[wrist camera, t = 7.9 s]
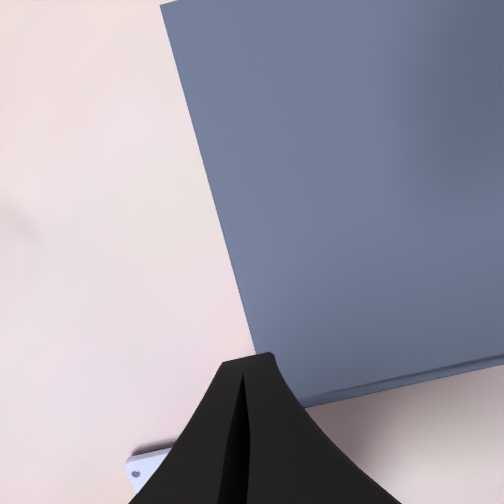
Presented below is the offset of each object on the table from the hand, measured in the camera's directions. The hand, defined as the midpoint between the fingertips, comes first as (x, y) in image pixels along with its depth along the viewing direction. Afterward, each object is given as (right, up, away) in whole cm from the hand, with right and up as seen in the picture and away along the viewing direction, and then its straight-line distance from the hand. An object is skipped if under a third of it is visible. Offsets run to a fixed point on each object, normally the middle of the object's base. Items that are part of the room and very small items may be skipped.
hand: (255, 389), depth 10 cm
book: (+5, +6, +9) cm, 12 cm away
